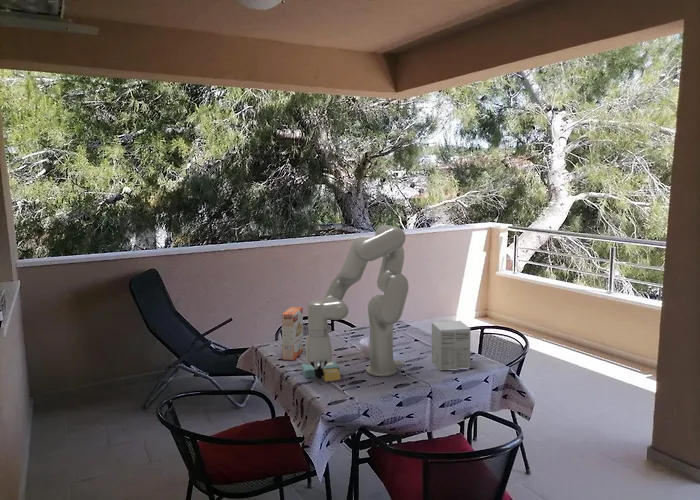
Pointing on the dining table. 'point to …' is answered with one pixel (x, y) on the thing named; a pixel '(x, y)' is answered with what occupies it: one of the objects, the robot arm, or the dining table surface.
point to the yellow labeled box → (331, 374)
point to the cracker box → (292, 333)
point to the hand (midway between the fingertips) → (318, 377)
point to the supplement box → (450, 345)
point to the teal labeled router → (310, 370)
